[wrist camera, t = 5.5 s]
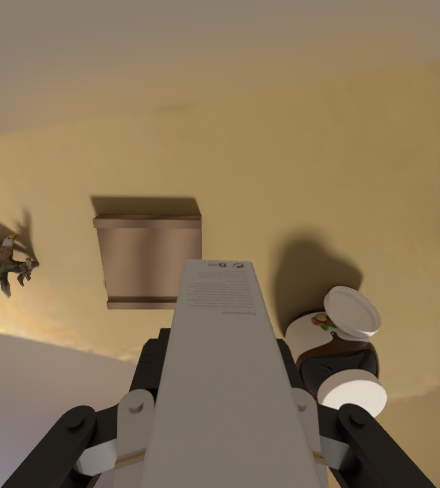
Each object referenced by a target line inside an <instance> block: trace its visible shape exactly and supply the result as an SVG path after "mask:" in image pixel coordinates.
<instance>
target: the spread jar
mask: <svg viewBox="0 0 440 488" xmlns="http://www.w3.org/2000/svg"><path fill="white" fill-rule="evenodd" d="M324 307H325V310H321V309H319V310H311V311H308V312H305V313H303V314H301V315H299V316H298V317H296V318H295V319H294V320H293V321H292V322H291V323H290V324H289V326H288V328H287V331H286V336H285V343H286V344H287V345H288V346H289V348H290V351H291V353H292V356H293V359H294V362H295V364H296V367H297V369H298V372H299V375H300V377H301V380H302V383H303V385H304V388H305V390H306V392H308V393H309V394H310V395H311V396H312V397H313V398H314V400H315V401H316V402H318V403H319V404H321V405H324V406H327V407H331V408H334V409H338V410H339V408H340V406H341V405H343V404H346V403H352V404H356V405H359V406H361V407H362V408H364V409H365V410H367V411H368V412H369V413H370V414H371V415H372V416H373V418H374V417H375V416H377V414H379V413H380V412H381V411H382V409H383V408H384V406H385V404H386V400H387V394H386V391H385V389H384V388H383V386H382V385H381V384H380V382H379V381H378V380H379V373H380V367H379V359H378V355H377V353H376V350H375V348H374V346H373V344H372V343H371V341H370V340H369V338H368V337H370V336H372V335H373V334H374V333H375V332H377V331H378V330H379V328H380V327H381V317H380V314H379V312H378V310H377V309H376V307H375V306H374V305H373V304H372V302H371V301H370V300H369V299H368V298H366V297H365V296H364V295H363V294H361V293H359V292H358V291H356V290H354V289H352V288H349V287H345V286H336V287H334V288H332V289H331V290H330V291H329V293H328V294H327V295H326V296H325V298H324Z"/></svg>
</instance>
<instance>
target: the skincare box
mask: <svg viewBox="0 0 440 488" xmlns="http://www.w3.org/2000/svg"><path fill="white" fill-rule="evenodd" d="M139 488H323V486H322V483H321V480H320V476H319V472H318V469H317V466H316V462H315V459H314V456H313V453H312V450H311V446H310V443H309V440H308V437H307V433H306V430H305V427H304V424H303V421H302V418H301V415H300V412H299V409H298V406H297V403H296V400H295V397H294V394H293V391H292V388H291V385H290V381H289V378H288V375H287V372H286V369H285V365H284V362H283V359H282V356H281V352H280V350H279V347H278V344H277V341H276V337H275V334H274V331H273V328H272V325H271V322H270V319H269V315H268V312H267V309H266V306H265V302H264V299H263V296H262V293H261V290H260V286H259V283H258V280H257V277H256V274H255V271H254V267H253V264H252V262H248V261H221V260H197V259H187V260H185V263H184V268H183V273H182V278H181V282H180V288H179V293H178V297H177V302H176V307H175V311H174V316H173V321H172V326H171V331H170V336H169V341H168V346H167V351H166V356H165V361H164V365H163V370H162V375H161V380H160V385H159V390H158V395H157V400H156V404H155V409H154V414H153V419H152V423H151V428H150V433H149V438H148V443H147V448H146V453H145V458H144V463H143V468H142V473H141V478H140V483H139Z"/></svg>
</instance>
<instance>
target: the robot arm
mask: <svg viewBox="0 0 440 488" xmlns="http://www.w3.org/2000/svg"><path fill="white" fill-rule="evenodd" d="M170 331H171V328H161V329H160V333H159V337H158V339H149V340H148V341H147V342H146V344H145V345H144V346H143V349H142V352H141V356H140V358H139V361H138V365H137V368H136V371H135V374H134V377H133V380H132V384H131V387H130V390H129V392H128V393H127V394H126V395H125V396H124V397H123V398H122V399H121V401H120V402H119V403H118V404H117V405H115V406H113V407H110V408H108V409H104V410H101V411H98V412H95V411H94V409H93V408H92V407H90V406H84V405H83V406H77V407H75V408H72V409H70V410H69V411H67V412H66V413H65V414H64V415H62V417H61V418H60V419H59V420H58V421H57V422H56V423H55V425H54V426H53V427H52V428H51V430H49V432H48V433H47V434H46V435H45V436H44V438H43V439H42V440H41V441H40V442H39V444H38V445H37V446H36V447H35V448H34V449H33V450H32V452H31V453H30V454H29V455H28V456H27V458H26V459H25V460H24V461H23V462H22V463H21V465H20V466H19V467H18V468H17V469H16V471H15V472H14V473H13V474H12V475H11V476H10V477H9V479H8V480H7V481H6V482H5V483H4V485H3V486H2V487H1V488H93V487H94V485H95V483H96V482H97V480H98V479H99V477H100V475H101V473H102V472H104V471H106V470H109V469H111V468H114V488H139V483H140V478H141V473H142V468H143V463H144V458H145V453H146V448H147V443H148V438H149V433H150V428H151V423H152V419H153V414H154V409H155V404H156V400H157V395H158V390H159V385H160V380H161V375H162V370H163V365H164V361H165V356H166V351H167V346H168V341H169V336H170ZM276 341H277V344H278V347H279V350H280V352H281V356H282V359H283V362H284V365H285V369H286V372H287V375H288V378H289V381H290V385H291V388H292V391H293V394H294V397H295V400H296V403H297V406H298V409H299V412H300V415H301V418H302V421H303V424H304V427H305V430H306V433H307V437H308V440H309V443H310V446H311V450H312V453H313V456H314V459H315V462H316V466H317V469H318V472H319V476H320V480H321V483H322V486H323V488H329V487H328V477H327V468H326V466H328V467H329V469H330V470H331V472H332V473H333V475H334V477H335V478H336V480H337V482H338V483H339V485H340V486H341V488H436V487H435V486H434V485H433V483H431V481H430V480H429V479H428V478H427V477H426V476H425V475H424V473H423V472H422V471H421V470H420V469H419V468H418V467H417V466H416V464H415V463H414V462H413V461H412V460H411V459H410V458H409V457H408V456H407V454H406V453H405V452H404V451H403V450H402V449H401V448H400V447H399V445H398V444H397V443H396V442H395V441H394V440H393V439H392V438H391V437H390V436H389V434H388V433H387V432H386V431H385V430H384V429H383V428H382V426H381V425H380V424H379V423H378V422H377V421H376V420H375V419H374V418H373V416H372V415H371V414H370V413H369V412H368V411H367V410H365V409H364V408H362V407H361V406H359V405H356V404H352V403H346V404H343V405H341V406H340V408H339V410H338V409H334V408H331V407H327V406H324V405H321V404H319V403H318V402H316V401H315V400H314V398H313V397H312V396H311V395H310V394H309V393H308V392H306V390H305V388H304V385H303V383H302V380H301V377H300V375H299V372H298V369H297V367H296V364H295V362H294V359H293V356H292V353H291V351H290V348H289V346H288V345H287V344H286V343H285V342H284V340H283V339H276Z"/></svg>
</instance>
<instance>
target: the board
mask: <svg viewBox="0 0 440 488" xmlns="http://www.w3.org/2000/svg"><path fill="white" fill-rule="evenodd" d="M93 224H94V228H97V233H98V239H99V246H100V252H101V258H102V264H103V270H104V276H105V282H106V288H107V295H108V301H107V308H108V309H175V307H176V302H177V297H178V293H179V288H180V282H181V278H182V273H183V268H184V263H185V260H187V259H197V260H202V230H201V215H130V214H100V215H98V216H97V217H95V218H94V219H93Z"/></svg>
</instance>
